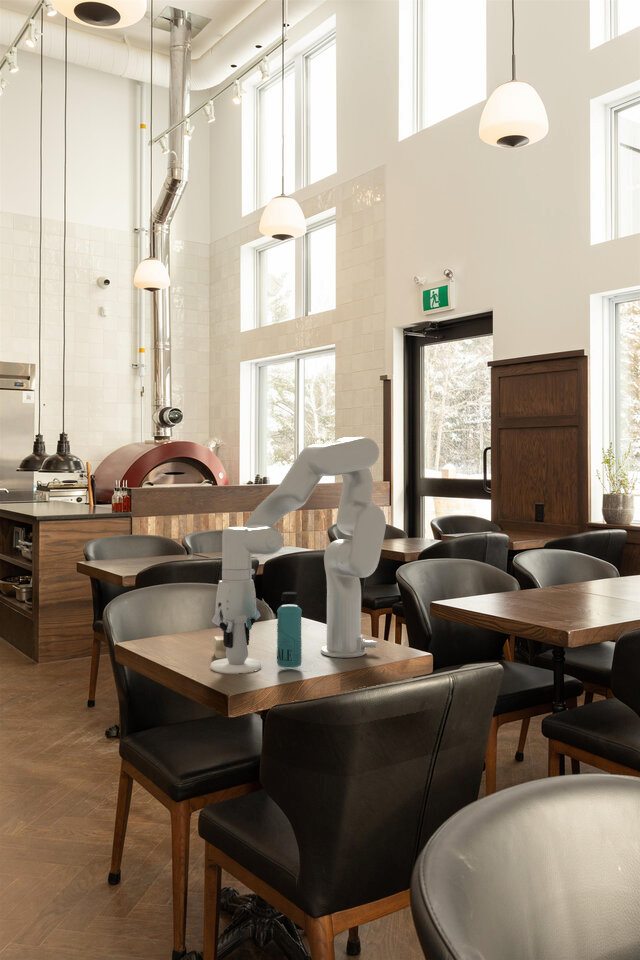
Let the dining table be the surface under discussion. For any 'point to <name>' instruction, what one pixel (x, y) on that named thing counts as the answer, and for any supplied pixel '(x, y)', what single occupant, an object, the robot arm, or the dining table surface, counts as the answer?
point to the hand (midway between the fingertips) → (236, 645)
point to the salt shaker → (238, 642)
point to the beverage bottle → (289, 632)
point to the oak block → (219, 647)
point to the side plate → (235, 666)
